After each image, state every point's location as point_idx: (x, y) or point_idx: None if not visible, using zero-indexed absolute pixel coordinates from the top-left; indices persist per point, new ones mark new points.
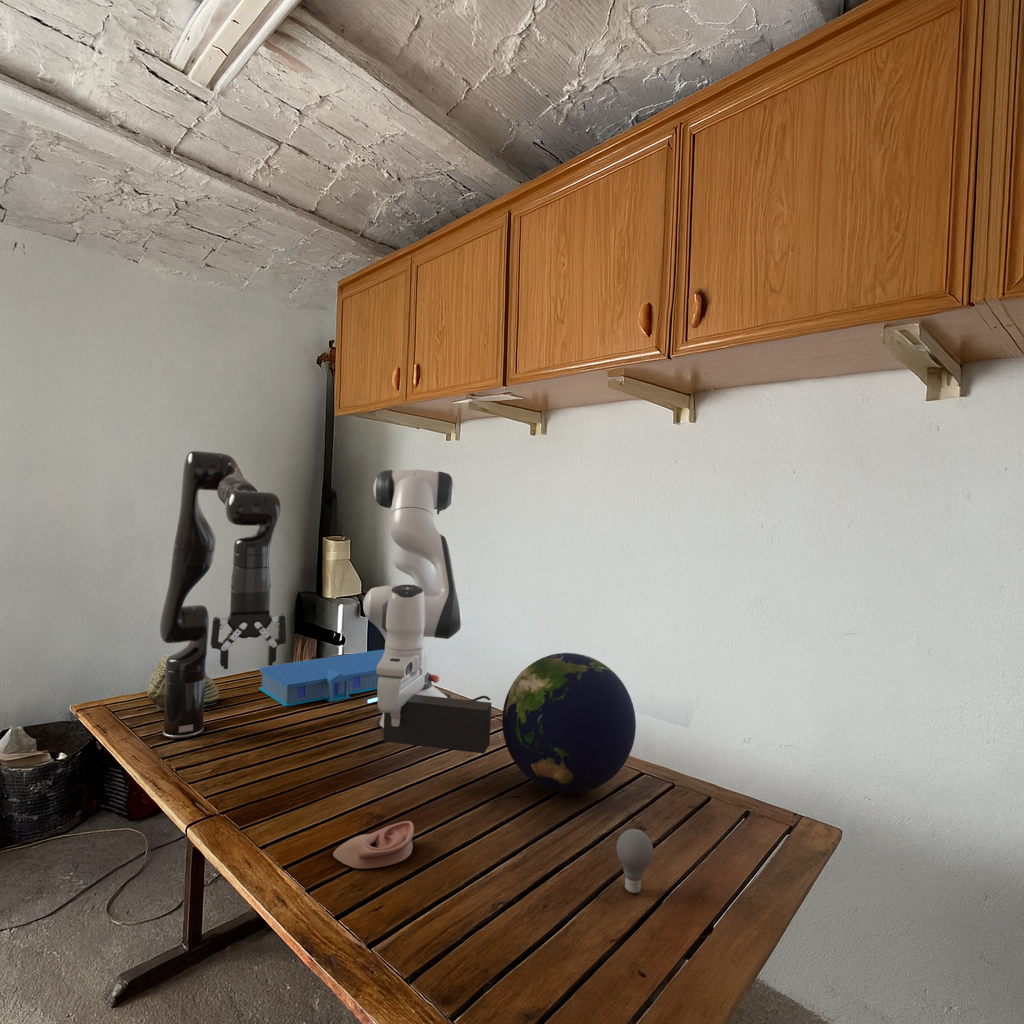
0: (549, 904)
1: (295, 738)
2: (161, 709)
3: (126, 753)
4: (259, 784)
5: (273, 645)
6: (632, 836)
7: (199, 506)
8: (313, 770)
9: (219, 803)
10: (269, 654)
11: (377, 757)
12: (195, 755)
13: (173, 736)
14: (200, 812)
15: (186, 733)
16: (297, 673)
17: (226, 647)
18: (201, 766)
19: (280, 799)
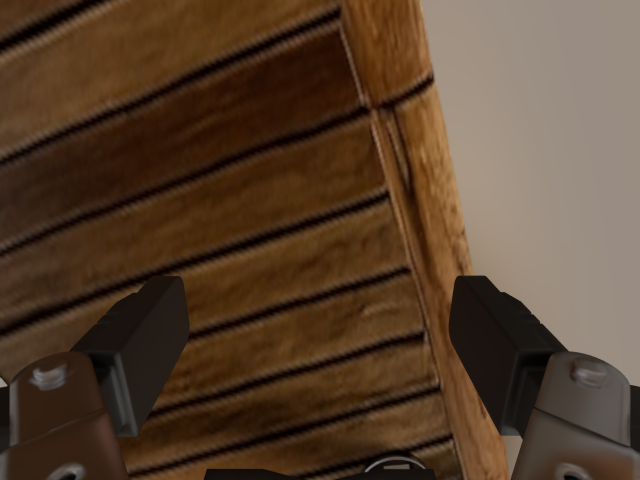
0: None
1: (197, 396)
2: None
3: (492, 427)
4: (282, 214)
5: (59, 360)
6: None
7: None
8: (169, 238)
9: (366, 157)
10: (146, 320)
11: (26, 252)
12: (384, 382)
13: (415, 461)
14: (404, 130)
15: (394, 462)
16: None
17: (567, 376)
18: (379, 333)
19: (247, 125)
